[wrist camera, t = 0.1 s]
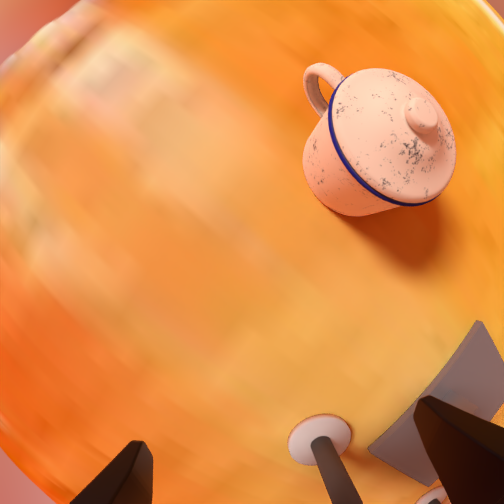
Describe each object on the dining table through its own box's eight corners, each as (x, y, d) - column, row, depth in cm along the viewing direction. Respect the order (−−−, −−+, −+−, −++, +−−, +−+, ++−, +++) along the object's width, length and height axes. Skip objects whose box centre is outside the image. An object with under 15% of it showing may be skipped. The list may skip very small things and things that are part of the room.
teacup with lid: (411, 182, 24) (501, 148, 12) (344, 242, 23) (428, 235, 12) (331, 81, 23) (378, 0, 12) (254, 127, 23) (267, 38, 11)
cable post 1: (321, 465, 23) (349, 532, 13) (275, 448, 23) (290, 523, 13) (359, 425, 23) (403, 486, 14) (313, 404, 23) (348, 474, 13)
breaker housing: (425, 483, 24) (445, 506, 18) (367, 448, 24) (389, 481, 18) (510, 384, 25) (536, 397, 19) (476, 320, 24) (513, 330, 18)
